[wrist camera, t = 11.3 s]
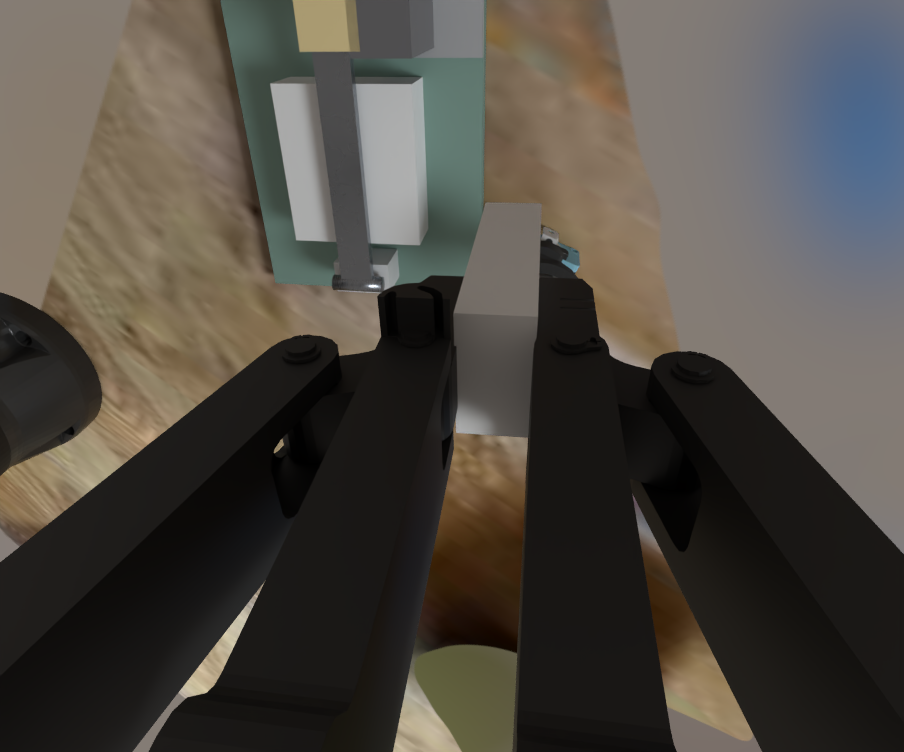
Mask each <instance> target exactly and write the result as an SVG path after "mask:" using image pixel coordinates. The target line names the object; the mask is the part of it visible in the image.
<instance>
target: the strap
mask: <svg viewBox="0 0 904 752" xmlns="http://www.w3.org/2000/svg"><path fill="white" fill-rule="evenodd" d="M312 58H313V66H314V73H315V81H316V89H317V96H318V104H319V112H320V119H321V127H322V135H323V142H324V150H325V158H326V165H327V173H328V181H329V188H330V196H331V204H332V211H333V219H334V227H335V234H336V242H337V250H338V257H339V265H340V273H341V275H337V274H334V275H333V277H332V288H333V290H344V291H363V292H382V291H384V287H385V281H384V277H378V276H374V269H373V259H372V248H371V238H370V228H369V217H368V207H367V196H366V186H365V176H364V165H363V155H362V145H361V134H360V124H359V113H358V103H357V93H356V82H355V72H354V62H353V59H351V58H350V52H312Z"/></svg>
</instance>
